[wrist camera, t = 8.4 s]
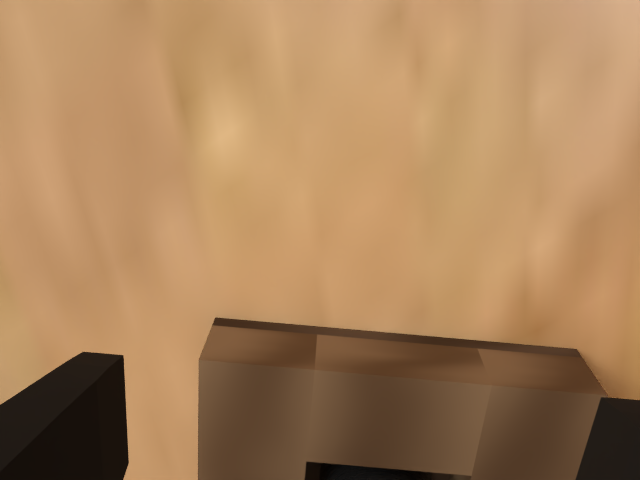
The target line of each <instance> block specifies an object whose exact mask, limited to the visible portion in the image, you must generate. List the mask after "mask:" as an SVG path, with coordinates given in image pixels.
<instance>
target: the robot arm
mask: <svg viewBox="0 0 640 480" xmlns="http://www.w3.org/2000/svg"><path fill="white" fill-rule="evenodd" d="M128 463H129V461H128V440H127V420H126V399H125V378H124V358H123V355H114V354H102V353H91V352H82V353H80V354H79V355H77V356H75V357H73V358H72V359H70V360H69V361H67V362H65V363H64V364H62V365H61V366H59V367H58V368H56V369H54V370H53V371H51V372H50V373H48V374H47V375H45V376H44V377H42V378H41V379H39V380H38V381H36V382H35V383H33V384H32V385H30V386H29V387H27V388H26V389H24V390H22V391H21V392H19V393H18V394H16V395H15V396H13V397H12V398H10V399H9V400H7V401H6V402H4V403H2V404H1V405H0V480H123V478H124V475H125V472H126V469H127V466H128ZM575 480H640V400H629V399H618V398H606V397H601V399H600V402H599V405H598V409H597V412H596V415H595V418H594V421H593V425H592V428H591V431H590V434H589V438H588V441H587V444H586V447H585V450H584V454H583V457H582V460H581V463H580V467H579V470H578V473H577V476H576V479H575Z"/></svg>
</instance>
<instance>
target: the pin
mask: <svg viewBox="0 0 640 480" xmlns="http://www.w3.org/2000/svg"><path fill="white" fill-rule="evenodd" d="M319 480H432V474H431V472H422V471H410V470H399V469H387V468H376V467H364V466H353V465H341V464H330V463H322V464H321V468H320V474H319Z"/></svg>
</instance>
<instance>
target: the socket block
mask: <svg viewBox="0 0 640 480" xmlns="http://www.w3.org/2000/svg"><path fill="white" fill-rule="evenodd" d="M607 396H608V395H607V394H606V392H605V391H604V389H603V388H602V386H601V385H600V383H599V382H598V380H597V379H596V378H595V376H594V375H593V373H592V372H591V370H590V369H589V367H588V366H587V364H586V363H585V361H584V360H583V358H582V357H581V355H580V354H579V352H578V351H577V349H568V348H556V347H545V346H533V345H522V344H510V343H499V342H487V341H476V340H464V339H453V338H442V337H430V336H419V335H407V334H396V333H384V332H373V331H361V330H350V329H338V328H327V327H316V326H304V325H293V324H281V323H270V322H258V321H247V320H235V319H224V318H215V320H214V323H213V325H212V328H211V330H210V333H209V335H208V338H207V340H206V343H205V345H204V348H203V350H202V353H201V356H200V358H199V403H198V480H319V474H320V468H321V464H322V463H330V464H341V465H353V466H364V467H376V468H387V469H399V470H410V471H422V472H431V474H432V480H575V479H576V476H577V473H578V470H579V467H580V463H581V460H582V457H583V454H584V450H585V447H586V444H587V441H588V438H589V434H590V431H591V428H592V425H593V421H594V418H595V415H596V412H597V409H598V405H599V402H600V399H601V397H606V398H607Z"/></svg>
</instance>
